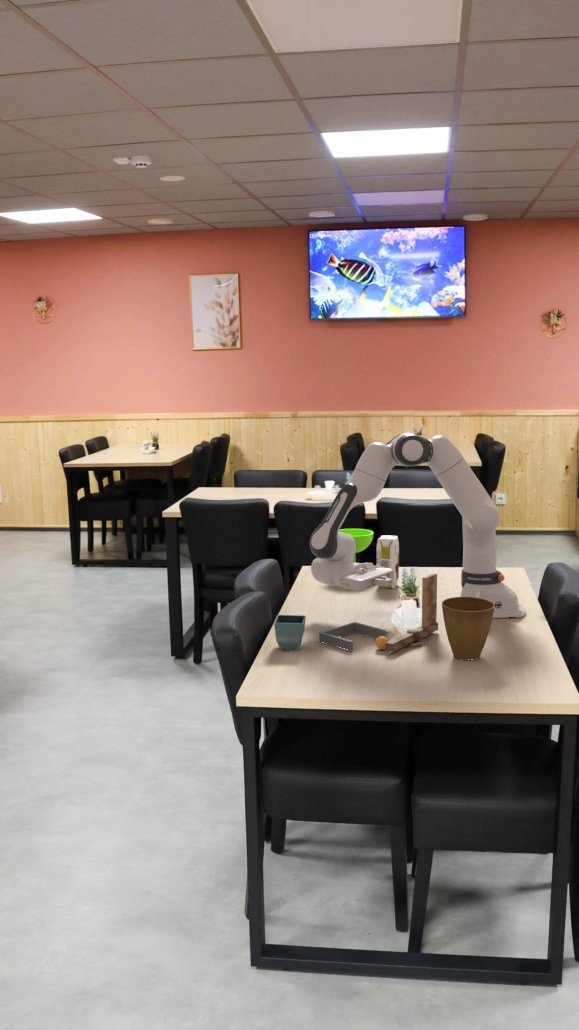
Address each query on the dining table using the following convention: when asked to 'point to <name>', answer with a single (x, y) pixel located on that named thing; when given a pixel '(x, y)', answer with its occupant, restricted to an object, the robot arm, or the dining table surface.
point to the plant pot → (467, 625)
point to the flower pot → (289, 630)
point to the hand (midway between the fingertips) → (390, 582)
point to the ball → (381, 642)
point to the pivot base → (418, 642)
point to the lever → (427, 616)
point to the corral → (333, 634)
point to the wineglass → (359, 538)
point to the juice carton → (388, 556)
